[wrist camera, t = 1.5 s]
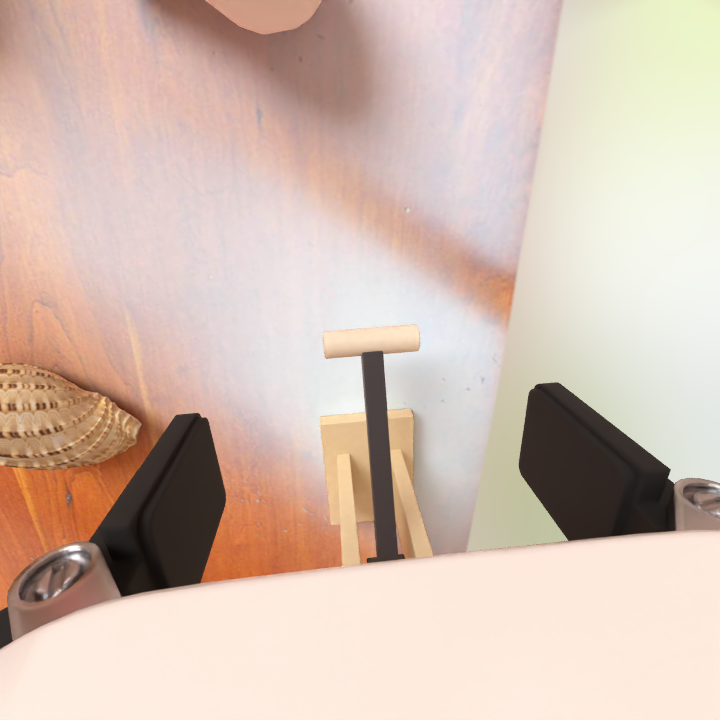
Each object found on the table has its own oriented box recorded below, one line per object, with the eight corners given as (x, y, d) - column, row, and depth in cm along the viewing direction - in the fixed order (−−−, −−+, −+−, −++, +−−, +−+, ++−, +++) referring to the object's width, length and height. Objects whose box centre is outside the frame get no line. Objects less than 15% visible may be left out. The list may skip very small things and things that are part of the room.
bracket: (320, 416, 29) (318, 565, 17) (410, 407, 29) (468, 548, 18) (330, 514, 33) (335, 689, 21) (410, 506, 33) (457, 672, 22)
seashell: (131, 342, 28) (-59, 356, 23) (135, 376, 24) (-101, 402, 19) (142, 430, 31) (-24, 459, 26) (148, 475, 27) (-53, 521, 22)
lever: (323, 331, 21) (322, 331, 19) (411, 325, 22) (421, 323, 19) (346, 606, 22) (347, 638, 20) (430, 596, 23) (441, 626, 20)
